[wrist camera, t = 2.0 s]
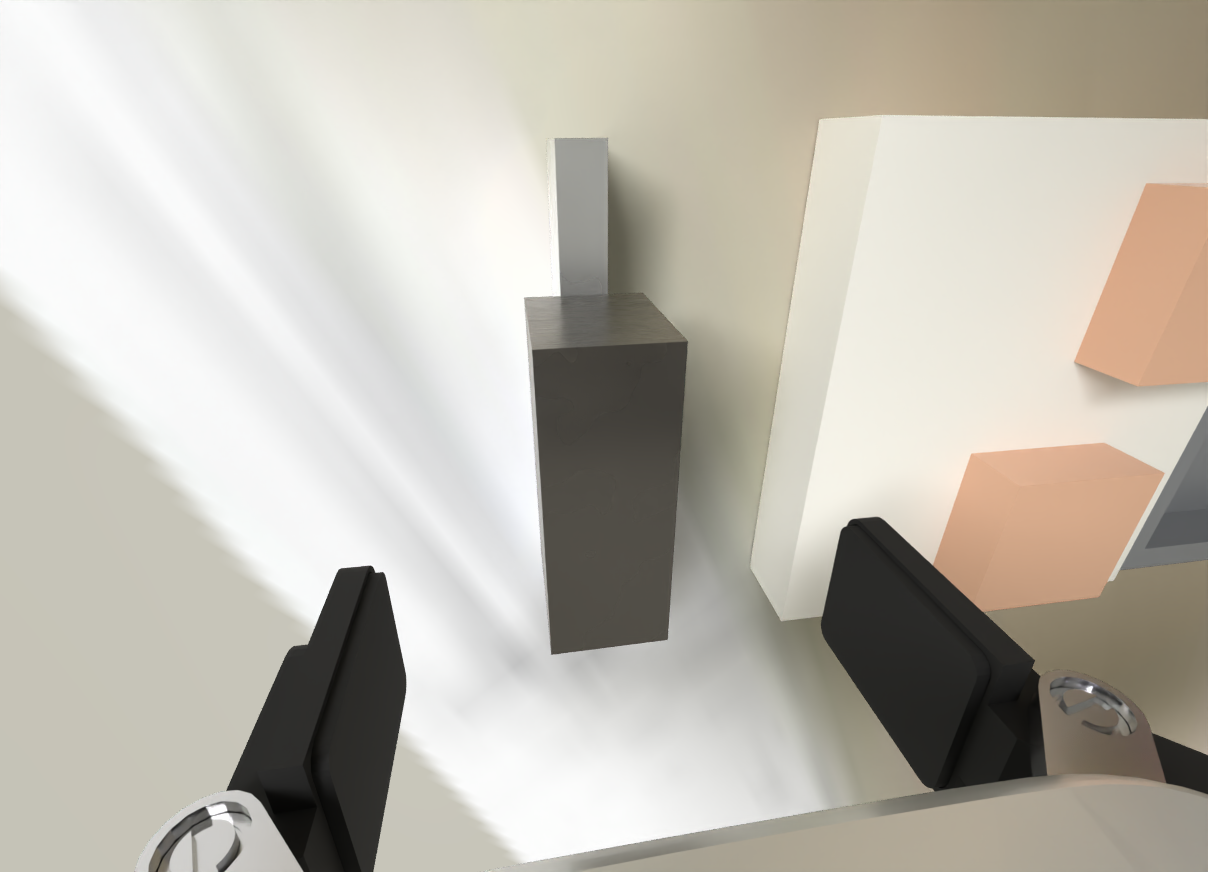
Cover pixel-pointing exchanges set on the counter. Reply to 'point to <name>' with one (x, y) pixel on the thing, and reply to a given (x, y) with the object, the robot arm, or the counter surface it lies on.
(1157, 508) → the tray
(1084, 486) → the tile
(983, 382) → the offwhite board
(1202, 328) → the tile
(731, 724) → the counter surface
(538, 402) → the dark block with bar
